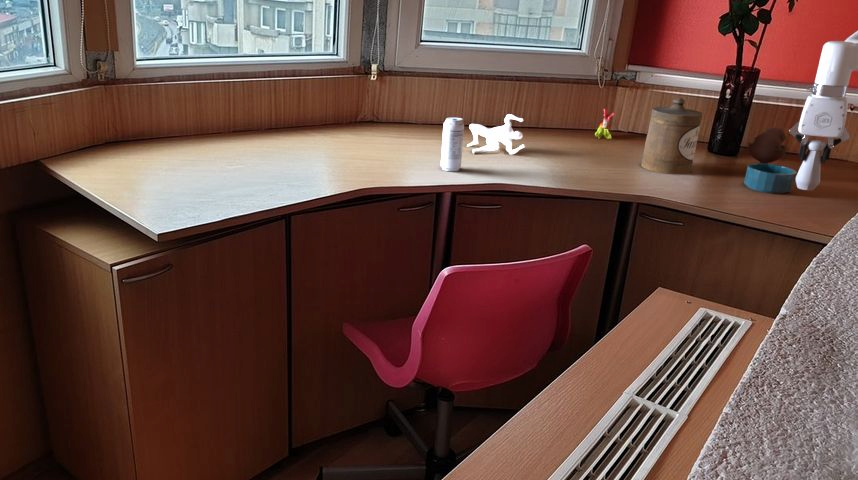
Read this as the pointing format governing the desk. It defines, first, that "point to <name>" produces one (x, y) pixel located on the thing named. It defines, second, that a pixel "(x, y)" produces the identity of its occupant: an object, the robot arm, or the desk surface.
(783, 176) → the bowl
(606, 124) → the bird rattle
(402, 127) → the desk surface
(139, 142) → the desk surface
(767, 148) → the brown rounded lumpy piece
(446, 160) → the energy drink can
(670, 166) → the wooden container
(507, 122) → the person figurine
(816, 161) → the salt shaker
